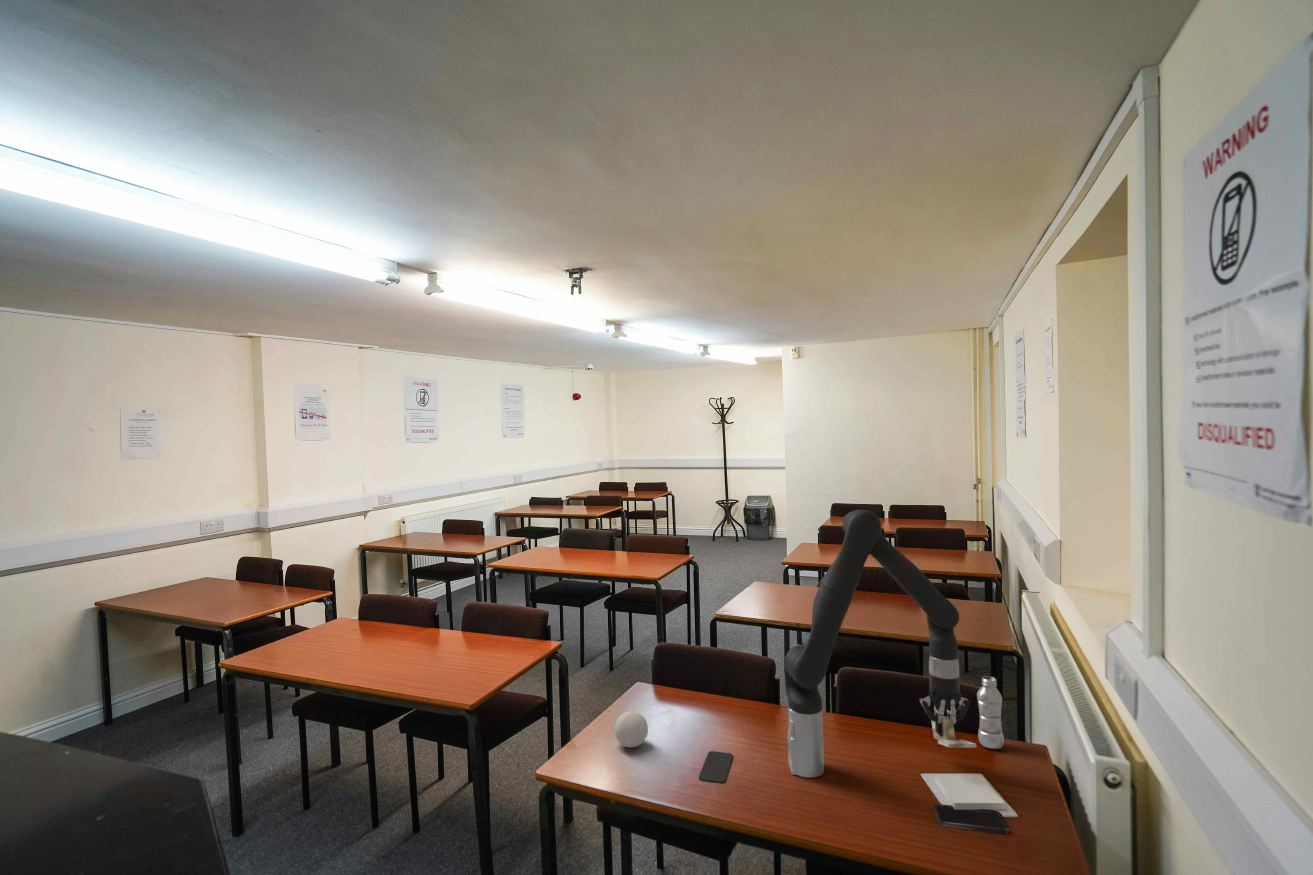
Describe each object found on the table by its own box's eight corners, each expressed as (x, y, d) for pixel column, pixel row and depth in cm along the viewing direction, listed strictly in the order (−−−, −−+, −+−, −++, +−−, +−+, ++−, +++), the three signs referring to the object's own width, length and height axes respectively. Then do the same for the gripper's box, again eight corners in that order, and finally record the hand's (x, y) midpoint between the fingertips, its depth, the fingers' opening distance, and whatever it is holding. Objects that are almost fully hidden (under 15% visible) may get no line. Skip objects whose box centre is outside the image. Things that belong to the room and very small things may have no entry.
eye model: (625, 734, 190) (624, 703, 190) (654, 741, 186) (653, 708, 186) (609, 749, 181) (608, 716, 181) (639, 757, 177) (638, 722, 177)
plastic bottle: (1007, 753, 174) (1005, 683, 174) (982, 751, 175) (980, 682, 175) (999, 741, 180) (998, 674, 180) (975, 740, 181) (973, 673, 181)
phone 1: (697, 778, 164) (708, 750, 178) (697, 781, 164) (708, 753, 178) (724, 782, 162) (733, 753, 176) (724, 785, 162) (733, 756, 176)
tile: (934, 782, 159) (954, 810, 147) (934, 775, 159) (954, 802, 147) (981, 782, 159) (1005, 810, 147) (980, 775, 159) (1005, 802, 147)
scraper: (948, 747, 156) (945, 721, 158) (925, 738, 171) (922, 714, 173) (976, 747, 156) (972, 721, 157) (950, 737, 171) (947, 714, 173)
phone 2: (1010, 831, 139) (939, 822, 143) (1010, 836, 139) (939, 827, 143) (1000, 810, 146) (933, 802, 150) (1000, 815, 146) (933, 807, 150)
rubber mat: (949, 816, 146) (949, 815, 146) (920, 774, 164) (920, 773, 164) (1018, 816, 145) (1018, 815, 145) (981, 774, 163) (981, 773, 163)
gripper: (923, 677, 163) (925, 742, 163) (976, 677, 162) (977, 741, 162) (913, 667, 170) (914, 728, 170) (963, 666, 169) (964, 728, 169)
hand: (945, 734), depth 166 cm, fingers closed on scraper
